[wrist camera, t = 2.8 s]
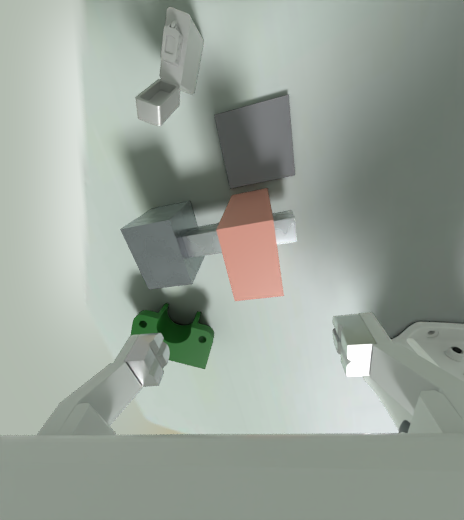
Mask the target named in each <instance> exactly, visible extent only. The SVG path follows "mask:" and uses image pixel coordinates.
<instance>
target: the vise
mask: <svg viewBox="0 0 464 520" xmlns="http://www.w3.org/2000/svg"><path fill="white" fill-rule="evenodd" d="M272 215H273V221H274V228H275V235H276V243H277V244H284V243H290V242H297V237H296V226H295V217H294V215H293V213H292V211H291V210H289V211H284V212H278V213H273V214H272ZM218 225H219V223H217V224H211V225H206V226H200V227H198V226H197V222H196V219H195V216H194V212H193V209H192V206H191V203H190V201H187V202H182V203H177V204H172V205H167V206H162V207H158V208H153V209H150V210H149V211H147V212H146V213H144V214H143V215H141V216H140V217H138V218H137V219H135V220H134V221H132V222H131V223H129V224H128V225H126V226H125V227H123V228H122V229H120V230H121V232H122V234H123V236H124V238H125V240H126V242H127V244H128V247H129V249H130V251H131V253H132V255H133V257H134V259H135V261H136V264H137V266H138V268H139V270H140V272H141V274H142V276H143V278H144V280H145V283H146V285H147V287H148V289H156V288H164V287H172V286H180V285H188V284H192V283H193V281H194V279H195V276H196V274H197V272H198V270H199V268H200V265H201V263H202V261H203V259H204V257H205V255H211V254H218V253H222V250H221V246H220V242H219V239H218V235H217V231H216V229H217V227H218Z"/></svg>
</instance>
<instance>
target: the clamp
mask: <svg viewBox="0 0 464 520" xmlns="http://www.w3.org/2000/svg"><path fill="white" fill-rule="evenodd" d="M168 306H169V304H167V303H165V305H164V306H163V308H162V309H161V310H160V312H159V313H157V312H153V311H149V310H143V311H141V312H140V313H139V314H138V315H137V316H136V317H135V318H134V320H133V324H132V330H131V335H138V334H150V333H161V334H162V335H163V337H164V339H163V342H165V343H166V344H167V345H168V347H169V351H170V354H169V360H171V361H175V362H179V363H183V364H187V365H190V366H194V367H198V368H202V369H205V367H206V364H207V360H208V357H209V353H210V350H211V346H212V343H213V338H214V331H213V329H212V328H211V327H209V326H207V325H203V324H199V323H198V322H199V318H200V314H201V312H198V311H197V314H196V316H195V319H194V321H193V323H191V324H189V325H178V324H176V323H174V322H173V321H172V320H171V319H170V318H169V316H168V312H167V309H168Z"/></svg>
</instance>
